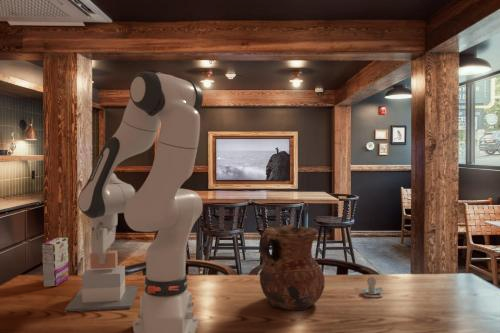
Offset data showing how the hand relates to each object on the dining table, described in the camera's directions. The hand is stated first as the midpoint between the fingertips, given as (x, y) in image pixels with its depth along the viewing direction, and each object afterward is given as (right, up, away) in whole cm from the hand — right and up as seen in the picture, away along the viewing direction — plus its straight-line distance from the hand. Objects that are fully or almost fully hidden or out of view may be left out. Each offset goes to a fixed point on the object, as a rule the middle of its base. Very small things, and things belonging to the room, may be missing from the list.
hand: (104, 261), depth 138 cm
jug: (+63, -13, -3) cm, 65 cm away
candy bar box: (-25, -13, +18) cm, 33 cm away
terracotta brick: (0, -2, 0) cm, 2 cm away
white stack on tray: (0, -13, 0) cm, 13 cm away
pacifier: (+92, -13, +4) cm, 93 cm away
